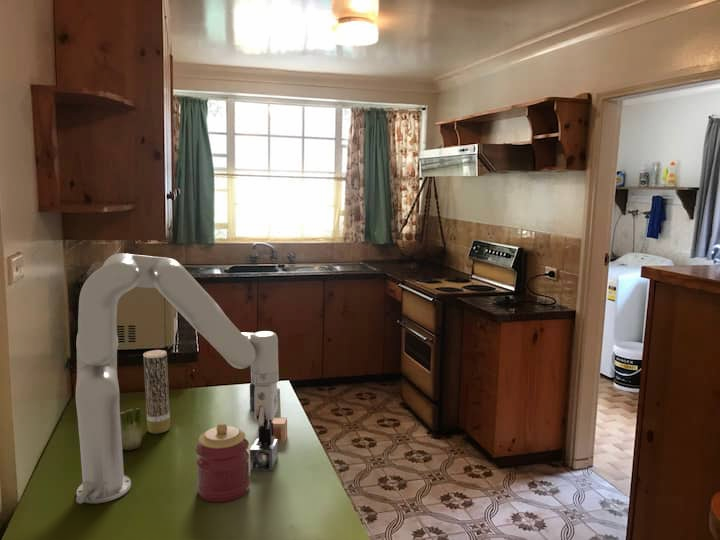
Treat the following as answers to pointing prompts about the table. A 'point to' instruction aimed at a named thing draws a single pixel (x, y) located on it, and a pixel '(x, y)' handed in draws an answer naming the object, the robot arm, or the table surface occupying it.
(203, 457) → the canister
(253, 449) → the sleeve
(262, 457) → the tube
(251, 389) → the supplement bottle
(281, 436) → the socket
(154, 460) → the table surface
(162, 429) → the paper tube
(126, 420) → the fennel bulb
